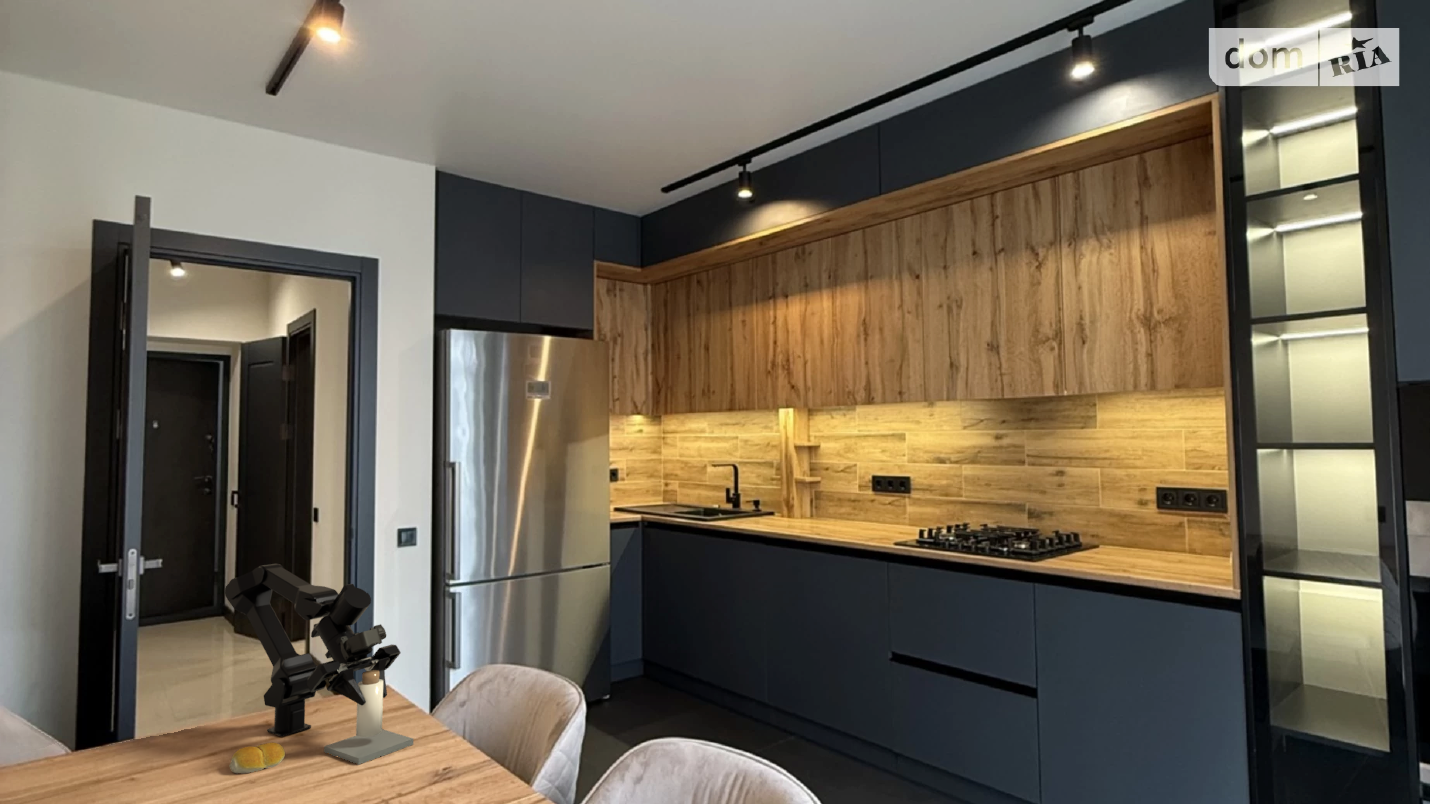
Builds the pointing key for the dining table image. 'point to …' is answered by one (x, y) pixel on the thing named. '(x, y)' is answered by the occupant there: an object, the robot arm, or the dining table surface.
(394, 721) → the dining table surface
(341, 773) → the dining table surface
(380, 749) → the plate
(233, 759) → the bread roll
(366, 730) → the lotion bottle
